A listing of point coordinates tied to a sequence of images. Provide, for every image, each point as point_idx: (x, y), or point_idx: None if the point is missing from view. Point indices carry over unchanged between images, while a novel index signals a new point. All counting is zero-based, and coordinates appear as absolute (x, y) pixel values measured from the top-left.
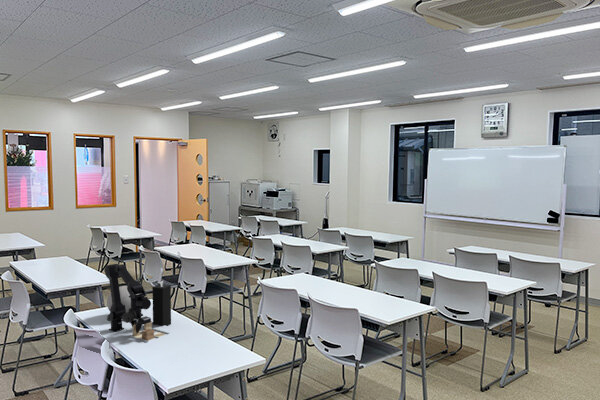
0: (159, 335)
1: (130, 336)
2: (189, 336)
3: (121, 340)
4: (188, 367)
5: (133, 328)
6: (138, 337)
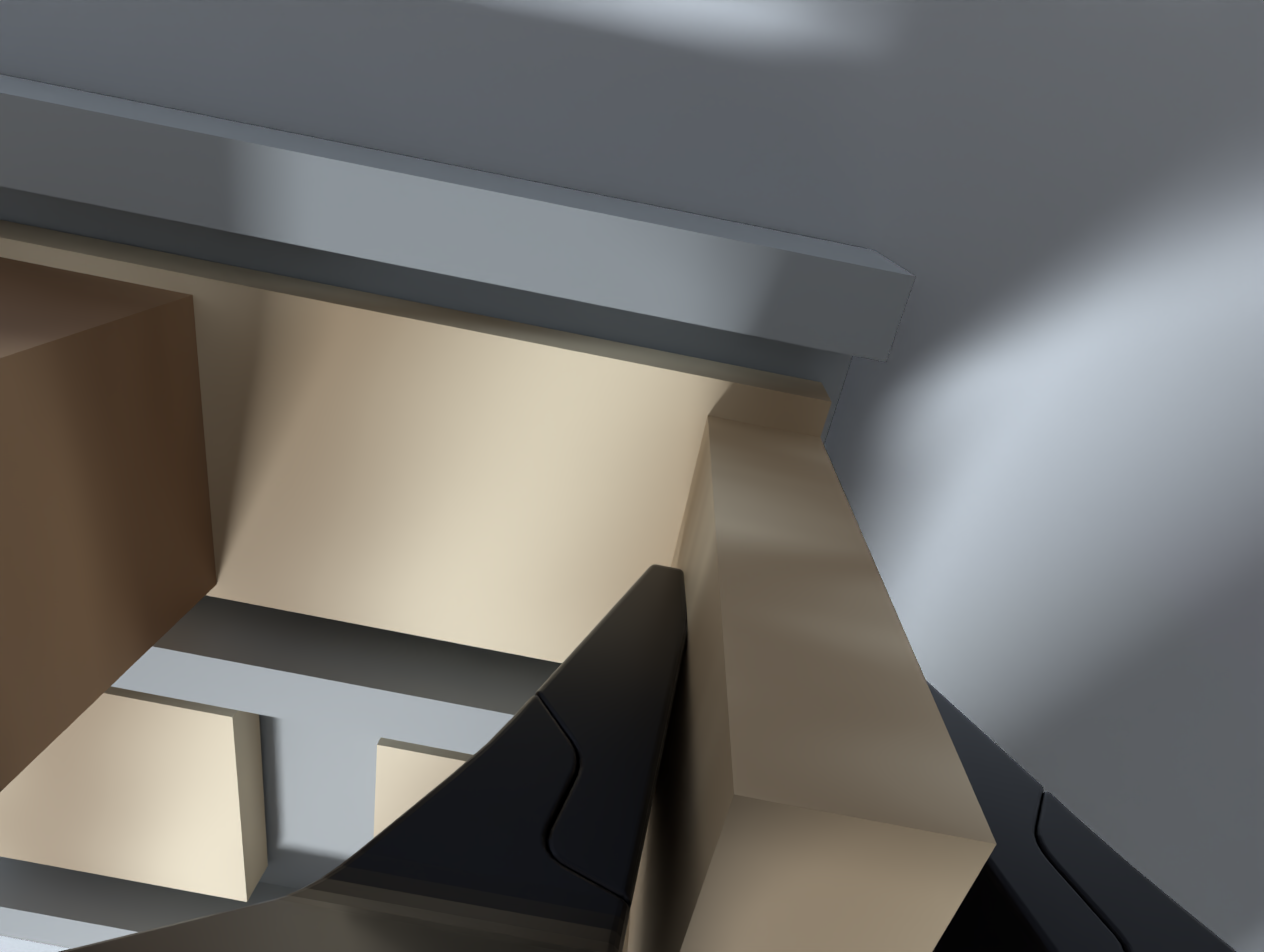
0: None
1: (810, 261)
2: None
3: (1164, 16)
4: None
5: (819, 640)
6: (457, 374)
